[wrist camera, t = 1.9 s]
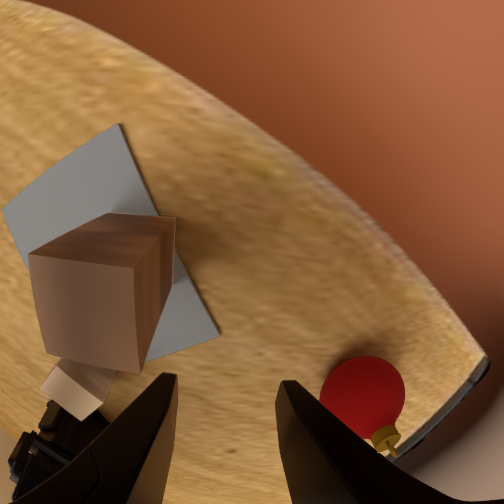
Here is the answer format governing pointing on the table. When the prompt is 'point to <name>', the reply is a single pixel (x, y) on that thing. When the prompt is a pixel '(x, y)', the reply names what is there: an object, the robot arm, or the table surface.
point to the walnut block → (104, 288)
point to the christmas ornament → (366, 399)
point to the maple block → (78, 386)
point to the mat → (95, 205)
